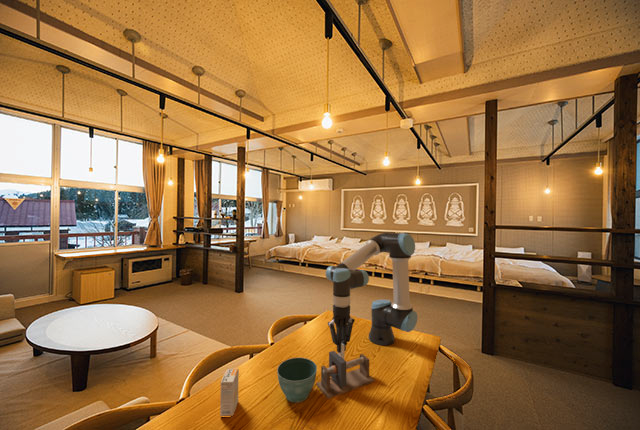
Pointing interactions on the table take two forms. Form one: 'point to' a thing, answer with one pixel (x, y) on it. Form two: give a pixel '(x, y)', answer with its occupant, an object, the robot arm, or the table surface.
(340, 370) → the ring
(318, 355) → the table surface
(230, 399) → the supplement box
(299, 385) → the flower pot
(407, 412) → the table surface
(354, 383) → the pipe stand
